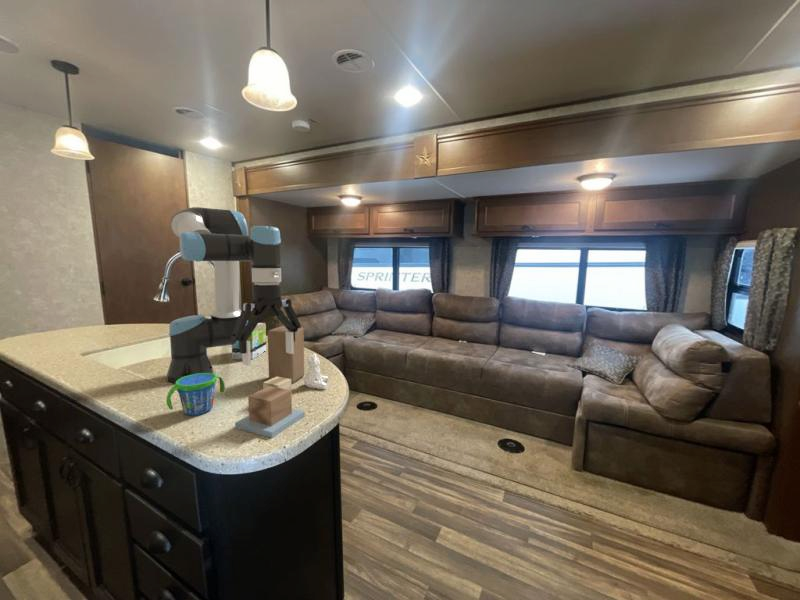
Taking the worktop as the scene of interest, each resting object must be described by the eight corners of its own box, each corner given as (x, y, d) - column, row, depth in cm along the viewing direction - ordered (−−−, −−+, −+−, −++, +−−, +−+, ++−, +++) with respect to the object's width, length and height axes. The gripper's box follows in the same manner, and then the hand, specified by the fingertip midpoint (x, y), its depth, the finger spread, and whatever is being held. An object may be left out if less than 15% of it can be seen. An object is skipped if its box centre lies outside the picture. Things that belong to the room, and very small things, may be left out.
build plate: (235, 427, 90) (235, 422, 90) (270, 408, 102) (270, 403, 102) (272, 437, 85) (272, 432, 85) (304, 416, 97) (304, 411, 97)
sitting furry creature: (326, 390, 117) (326, 357, 115) (301, 391, 115) (301, 358, 114) (328, 380, 126) (328, 350, 124) (305, 381, 125) (304, 350, 123)
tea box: (253, 360, 150) (252, 328, 148) (231, 359, 150) (230, 328, 148) (267, 351, 165) (266, 322, 163) (247, 350, 165) (246, 321, 163)
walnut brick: (249, 420, 91) (248, 396, 90) (270, 408, 98) (269, 386, 98) (271, 426, 88) (270, 401, 87) (291, 413, 95) (291, 390, 95)
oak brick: (264, 403, 105) (263, 382, 104) (277, 396, 111) (276, 376, 110) (278, 406, 103) (278, 385, 102) (291, 399, 109) (291, 379, 108)
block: (292, 385, 121) (290, 331, 118) (268, 382, 123) (266, 330, 120) (305, 375, 131) (304, 326, 128) (282, 373, 132) (281, 325, 130)
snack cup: (174, 426, 90) (171, 390, 89) (162, 414, 97) (160, 381, 96) (232, 407, 102) (231, 376, 101) (218, 398, 109) (217, 368, 107)
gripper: (229, 287, 78) (233, 373, 80) (312, 282, 98) (313, 350, 101) (213, 285, 82) (217, 367, 85) (295, 280, 102) (297, 346, 105)
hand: (269, 358), depth 93 cm, fingers open, 13 cm apart
